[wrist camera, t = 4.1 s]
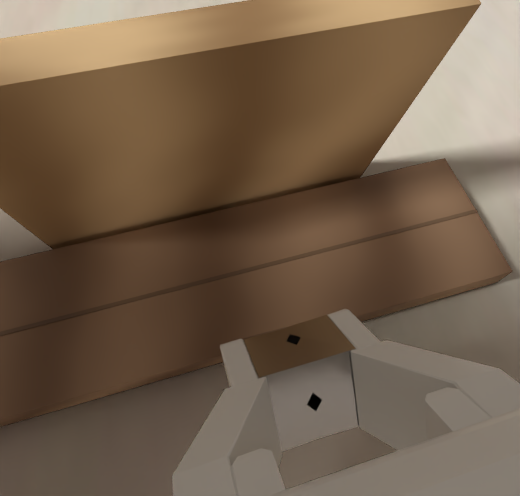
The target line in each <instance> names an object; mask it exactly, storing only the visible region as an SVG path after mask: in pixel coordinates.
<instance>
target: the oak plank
mask: <svg viewBox="0 0 520 496" xmlns="http://www.w3.org/2000/svg"><path fill="white" fill-rule="evenodd" d="M480 5H481V2H480V0H248V1H242V2H235V3H229V4H222V5H216V6H209V7H203V8H196V9H190V10H183V11H177V12H170V13H164V14H157V15H151V16H145V17H138V18H132V19H125V20H119V21H112V22H106V23H99V24H93V25H86V26H80V27H73V28H67V29H60V30H54V31H47V32H41V33H34V34H28V35H21V36H15V37H8V38H2V39H0V208H1V209H2V210H3V211H4V212H6V213H7V214H8V215H10V216H11V217H12V218H14V219H15V220H16V221H17V222H19V223H20V224H21V225H23V226H24V227H25V228H26V229H28V230H29V231H30V232H32V233H33V234H34V235H35V236H37V237H38V238H39V239H41V240H42V241H43V242H44V243H46V244H47V245H48V246H50V247H51V248H52V249H57V248H61V247H66V246H70V245H74V244H79V243H83V242H87V241H92V240H96V239H100V238H104V237H109V236H113V235H117V234H122V233H126V232H130V231H135V230H139V229H143V228H147V227H152V226H156V225H160V224H165V223H169V222H173V221H177V220H182V219H186V218H190V217H195V216H199V215H203V214H208V213H212V212H216V211H220V210H225V209H229V208H233V207H238V206H242V205H246V204H251V203H255V202H259V201H263V200H268V199H272V198H276V197H281V196H285V195H289V194H293V193H298V192H302V191H306V190H311V189H315V188H319V187H324V186H328V185H332V184H336V183H341V182H345V181H349V180H354V179H358V178H360V177H361V176H362V174H363V173H364V171H365V170H366V168H367V167H368V166H369V164H370V163H371V161H372V160H373V158H374V157H375V155H376V154H377V153H378V151H379V150H380V148H381V147H382V145H383V144H384V143H385V141H386V140H387V138H388V137H389V135H390V134H391V132H392V131H393V130H394V128H395V127H396V125H397V124H398V122H399V121H400V120H401V118H402V117H403V115H404V114H405V112H406V111H407V110H408V108H409V107H410V105H411V104H412V102H413V101H414V99H415V98H416V97H417V95H418V94H419V92H420V91H421V89H422V88H423V87H424V85H425V84H426V82H427V81H428V79H429V78H430V76H431V75H432V74H433V72H434V71H435V69H436V68H437V66H438V65H439V64H440V62H441V61H442V59H443V58H444V56H445V55H446V54H447V52H448V51H449V49H450V48H451V46H452V45H453V43H454V42H455V41H456V39H457V38H458V36H459V35H460V33H461V32H462V31H463V29H464V28H465V26H466V25H467V23H468V22H469V20H470V19H471V18H472V16H473V15H474V13H475V12H476V10H477V9H478V8H479V6H480Z"/></svg>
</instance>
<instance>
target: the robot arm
mask: <svg viewBox="0 0 520 496" xmlns="http://www.w3.org/2000/svg"><path fill="white" fill-rule="evenodd" d="M220 350H221V354H222V358H223V362H224V366H225V370H226V375H227V379H228V383H229V388H226V389H224V391H223V393H222V394H221V396H220V398H219V399H218V401H217V402H216V404H215V406H214V407H213V409H212V411H211V412H210V414H209V416H208V417H207V419H206V421H205V422H204V424H203V425H202V427H201V429H200V430H199V432H198V434H197V435H196V437H195V439H194V440H193V442H192V444H191V445H190V447H189V448H188V450H187V452H186V453H185V455H184V457H183V458H182V460H181V462H180V463H179V465H178V467H177V468H176V470H175V471H174V473H173V475H172V486H173V496H520V383H519V382H517V381H516V380H515V379H513V378H512V377H511V376H509V375H508V374H507V373H505V372H504V371H503V370H501V369H500V368H496V367H492V366H488V365H484V364H480V363H476V362H472V361H468V360H464V359H460V358H456V357H453V356H449V355H445V354H441V353H437V352H433V351H429V350H425V349H421V348H417V347H413V346H409V345H405V344H402V343H398V342H394V341H390V340H385V341H380V340H379V339H378V338H377V337H376V336H375V335H374V334H373V333H372V332H371V331H370V330H369V329H368V328H367V327H366V326H365V325H364V324H363V323H362V322H361V321H360V320H359V319H358V318H357V317H356V316H355V315H354V314H353V313H352V312H351V311H349V310H348V309H343V310H340V311H337V312H334V313H331V314H328V315H324V316H321V317H318V318H314V319H311V320H308V321H305V322H302V323H298V324H295V325H292V326H289V327H286V328H285V327H284V328H280V329H276V330H273V331H269V332H265V333H261V334H257V335H254V336H250V337H246V338H242V339H237V340H234V341H231V342H228V343H224V344H221V345H220ZM356 427H360V429H362V430H363V431H365V432H367V433H369V434H370V435H372V436H374V437H375V438H377V439H379V440H381V441H382V442H384V443H386V444H388V445H389V446H391V447H393V448H394V449H396V450H398V451H395V452H392V453H389V454H386V455H384V456H381V457H378V458H375V459H372V460H369V461H366V462H364V463H361V464H358V465H355V466H352V467H349V468H346V469H343V470H341V471H338V472H335V473H332V474H329V475H326V476H323V477H320V478H318V479H315V480H312V481H309V482H306V483H303V484H300V485H297V486H295V487H292V488H289V489H286V488H285V486H284V483H283V480H282V478H281V475H280V472H279V466H280V462H281V458H282V452H284V451H287V450H289V449H292V448H295V447H298V446H300V445H303V444H306V443H309V442H311V441H314V440H317V439H320V438H323V437H326V436H329V435H333V434H336V433H339V432H343V431H346V430H349V429H353V428H356Z"/></svg>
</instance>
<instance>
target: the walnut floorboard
mask: <svg viewBox="0 0 520 496" xmlns="http://www.w3.org/2000/svg"><path fill="white" fill-rule="evenodd" d="M511 272H512V270H511V268H510V266H509V265H508V263H507V261H506V259H505V258H504V256H503V254H502V253H501V251H500V249H499V248H498V246H497V244H496V243H495V241H494V239H493V238H492V236H491V234H490V233H489V231H488V229H487V228H486V226H485V224H484V223H483V221H482V219H481V218H480V216H479V214H478V211H477V210H476V209H475V208H474V206H473V204H472V203H471V201H470V199H469V198H468V196H467V194H466V193H465V191H464V189H463V188H462V186H461V184H460V183H459V181H458V179H457V178H456V176H455V174H454V173H453V171H452V169H451V168H450V166H449V164H448V163H447V161H446V159H445V158H444V159H440V160H435V161H431V162H427V163H422V164H418V165H414V166H409V167H405V168H401V169H397V170H392V171H388V172H384V173H379V174H375V175H371V176H367V177H362V178H358V179H354V180H349V181H345V182H341V183H336V184H332V185H328V186H324V187H319V188H315V189H311V190H306V191H302V192H298V193H293V194H289V195H285V196H281V197H276V198H272V199H268V200H263V201H259V202H255V203H251V204H246V205H242V206H238V207H233V208H229V209H225V210H220V211H216V212H212V213H208V214H203V215H199V216H195V217H190V218H186V219H182V220H177V221H173V222H169V223H165V224H160V225H156V226H152V227H147V228H143V229H139V230H135V231H130V232H126V233H122V234H117V235H113V236H109V237H104V238H100V239H96V240H92V241H87V242H83V243H79V244H74V245H70V246H66V247H61V248H57V249H53V250H49V251H44V252H40V253H36V254H31V255H27V256H23V257H19V258H14V259H10V260H6V261H1V262H0V427H2V426H5V425H9V424H12V423H15V422H19V421H22V420H26V419H29V418H33V417H36V416H39V415H43V414H46V413H50V412H53V411H57V410H60V409H64V408H67V407H70V406H74V405H77V404H81V403H84V402H88V401H91V400H94V399H98V398H101V397H105V396H108V395H112V394H115V393H118V392H122V391H125V390H129V389H132V388H136V387H139V386H143V385H146V384H149V383H153V382H156V381H160V380H163V379H167V378H170V377H173V376H177V375H180V374H184V373H187V372H191V371H194V370H197V369H201V368H204V367H208V366H211V365H215V364H218V363H222V362H223V358H222V354H221V350H220V345H221V344H224V343H228V342H231V341H234V340H237V339H242V338H246V337H250V336H254V335H257V334H261V333H265V332H269V331H273V330H276V329H280V328H284V327H285V328H286V327H289V326H292V325H295V324H298V323H302V322H305V321H308V320H311V319H314V318H318V317H321V316H324V315H328V314H331V313H334V312H337V311H340V310H343V309H348V310H349V311H351V312H352V313H353V314H354V315H355V316H356V317H357V318H358V319H359V320H360V321H361V322H362V321H366V320H369V319H373V318H376V317H379V316H383V315H386V314H390V313H393V312H397V311H400V310H404V309H407V308H410V307H414V306H417V305H421V304H424V303H428V302H431V301H434V300H438V299H441V298H445V297H448V296H452V295H455V294H458V293H462V292H465V291H469V290H472V289H476V288H479V287H483V286H486V285H489V284H493V283H496V282H498V281H500V280H501V279H502V278H504V277H505V276H507V275H508V274H510V273H511Z"/></svg>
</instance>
